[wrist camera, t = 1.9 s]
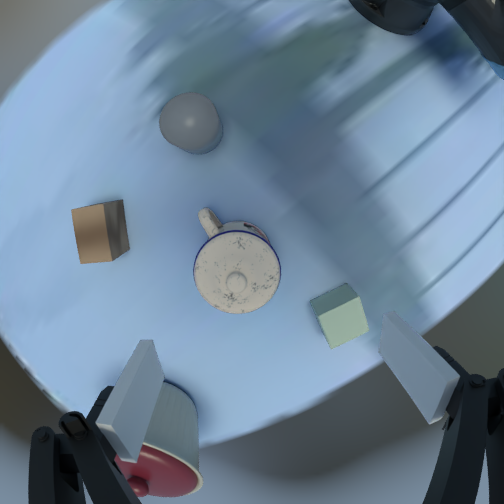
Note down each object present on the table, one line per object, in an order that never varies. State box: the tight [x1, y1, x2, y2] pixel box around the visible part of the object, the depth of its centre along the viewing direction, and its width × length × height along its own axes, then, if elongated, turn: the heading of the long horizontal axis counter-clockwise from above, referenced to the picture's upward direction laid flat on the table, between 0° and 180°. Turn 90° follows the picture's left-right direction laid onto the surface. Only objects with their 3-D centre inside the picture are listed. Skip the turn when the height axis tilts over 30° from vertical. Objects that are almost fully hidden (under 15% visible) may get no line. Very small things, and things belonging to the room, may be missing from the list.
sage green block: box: [310, 283, 369, 349], centre depth 37 cm, size 6×6×5 cm
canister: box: [114, 382, 203, 497], centre depth 34 cm, size 18×18×21 cm
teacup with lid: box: [193, 208, 281, 314], centre depth 31 cm, size 12×9×12 cm
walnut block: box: [71, 200, 130, 264], centre depth 33 cm, size 7×5×6 cm
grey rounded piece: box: [159, 92, 223, 154], centre depth 29 cm, size 6×6×8 cm
